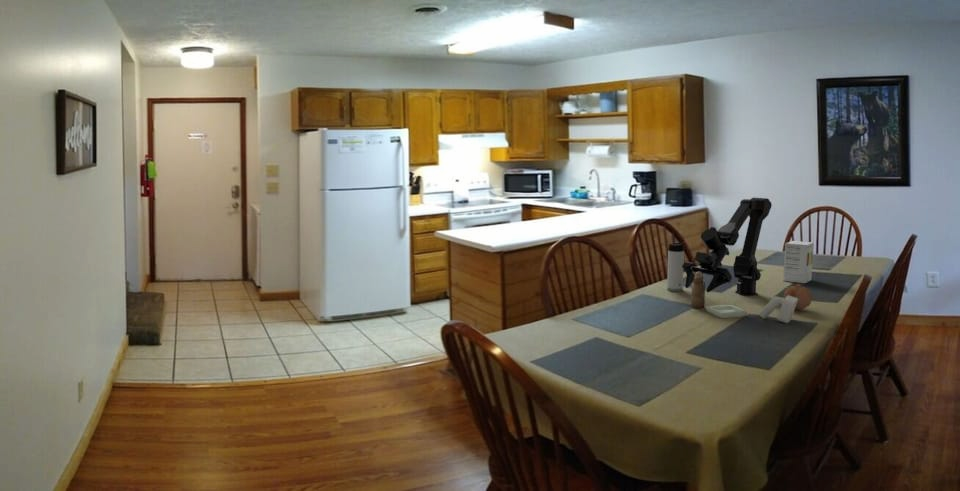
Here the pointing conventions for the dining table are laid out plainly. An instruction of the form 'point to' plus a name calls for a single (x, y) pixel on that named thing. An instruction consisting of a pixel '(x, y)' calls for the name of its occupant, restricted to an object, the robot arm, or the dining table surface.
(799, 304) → the onion
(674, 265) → the travel mug
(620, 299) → the dining table surface
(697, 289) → the pepper mill
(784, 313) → the wall hook
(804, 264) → the supplement box
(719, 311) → the keeper dish
